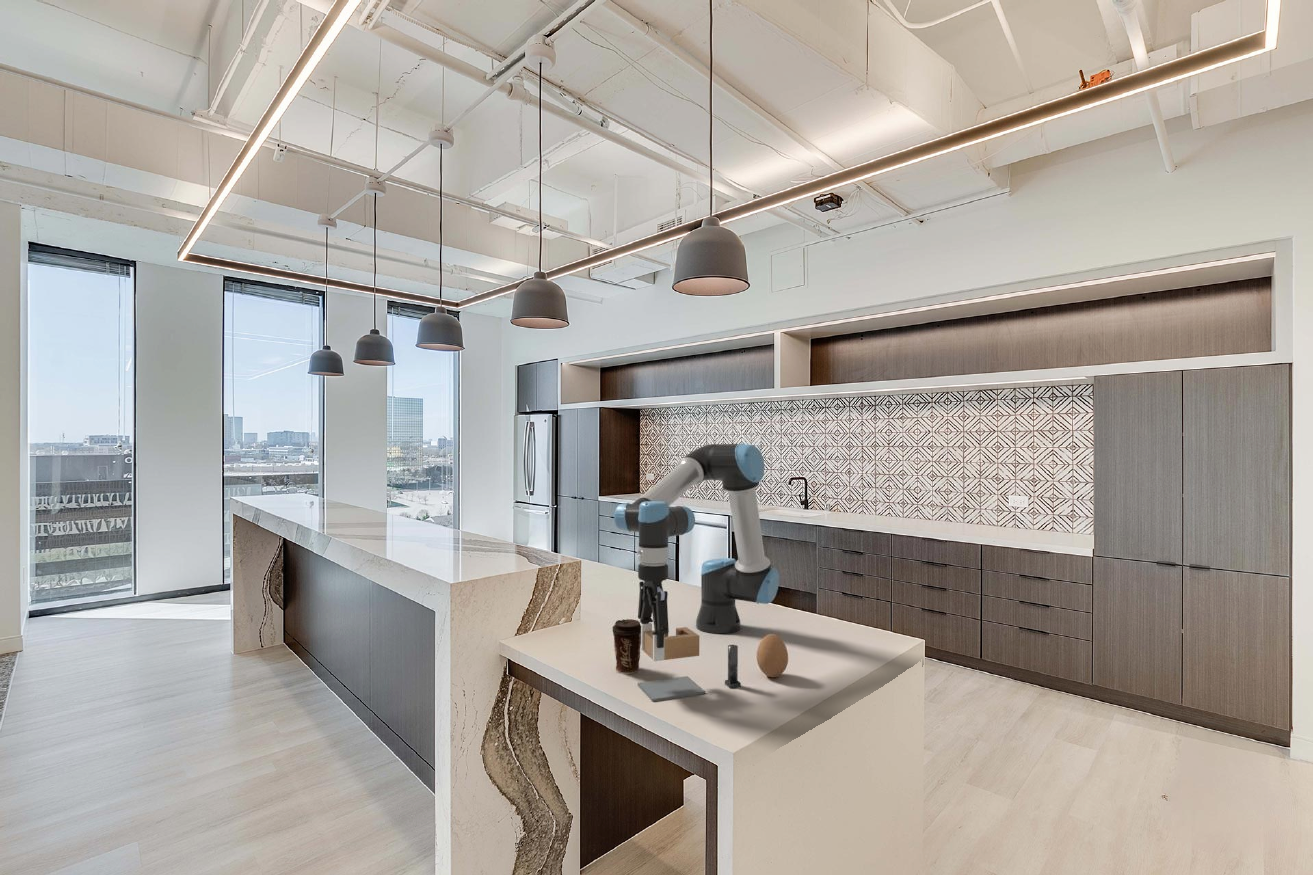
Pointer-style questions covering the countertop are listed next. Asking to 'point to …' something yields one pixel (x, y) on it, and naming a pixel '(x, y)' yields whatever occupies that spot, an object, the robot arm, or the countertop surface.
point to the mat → (670, 688)
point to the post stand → (732, 667)
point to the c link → (674, 644)
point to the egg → (772, 655)
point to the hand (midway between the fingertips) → (652, 654)
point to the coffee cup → (627, 645)
